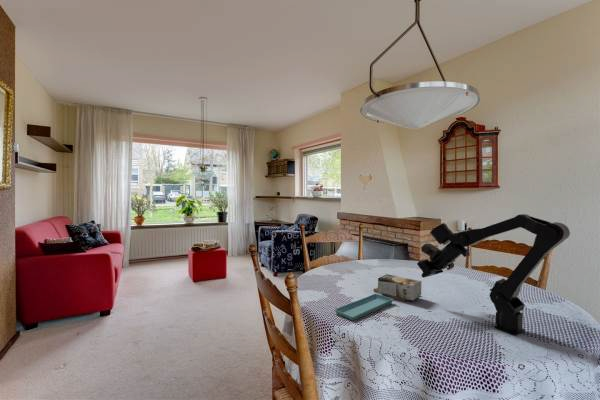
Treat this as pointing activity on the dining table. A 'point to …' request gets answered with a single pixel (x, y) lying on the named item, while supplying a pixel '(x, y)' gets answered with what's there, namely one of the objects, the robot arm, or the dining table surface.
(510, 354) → the dining table surface
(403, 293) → the coffee box
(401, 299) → the walnut board
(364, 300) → the rectangular tray
